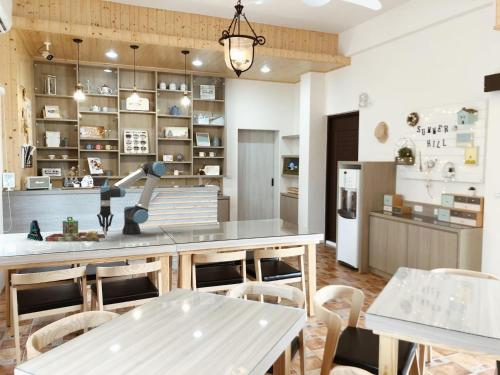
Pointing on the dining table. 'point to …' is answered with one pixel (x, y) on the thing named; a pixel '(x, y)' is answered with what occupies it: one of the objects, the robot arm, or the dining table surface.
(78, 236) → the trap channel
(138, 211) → the robot arm
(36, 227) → the decorative sign
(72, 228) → the green lantern
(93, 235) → the ochre block
